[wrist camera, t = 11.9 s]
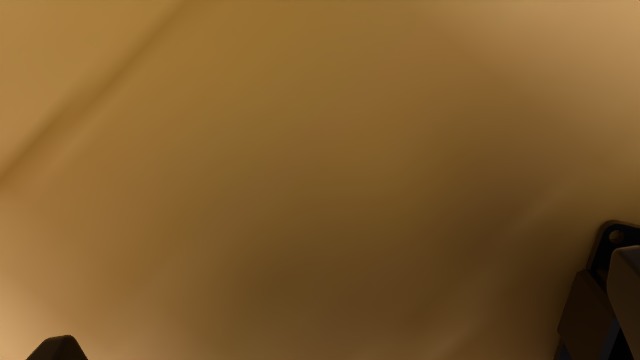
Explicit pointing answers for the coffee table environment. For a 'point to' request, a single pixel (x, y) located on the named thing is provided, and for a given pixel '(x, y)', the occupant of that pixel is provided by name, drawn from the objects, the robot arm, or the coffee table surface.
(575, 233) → the coffee table surface
